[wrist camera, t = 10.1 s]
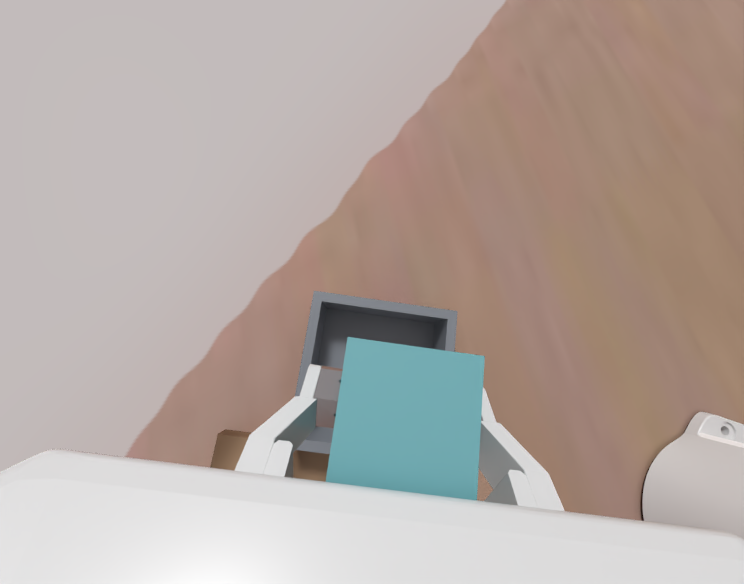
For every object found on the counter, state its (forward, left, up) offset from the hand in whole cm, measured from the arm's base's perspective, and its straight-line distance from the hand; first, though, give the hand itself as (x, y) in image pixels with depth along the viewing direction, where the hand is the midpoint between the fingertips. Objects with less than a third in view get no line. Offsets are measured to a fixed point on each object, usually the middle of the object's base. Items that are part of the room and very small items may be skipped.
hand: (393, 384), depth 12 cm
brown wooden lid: (+7, +14, -17) cm, 23 cm away
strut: (0, +1, -5) cm, 5 cm away
